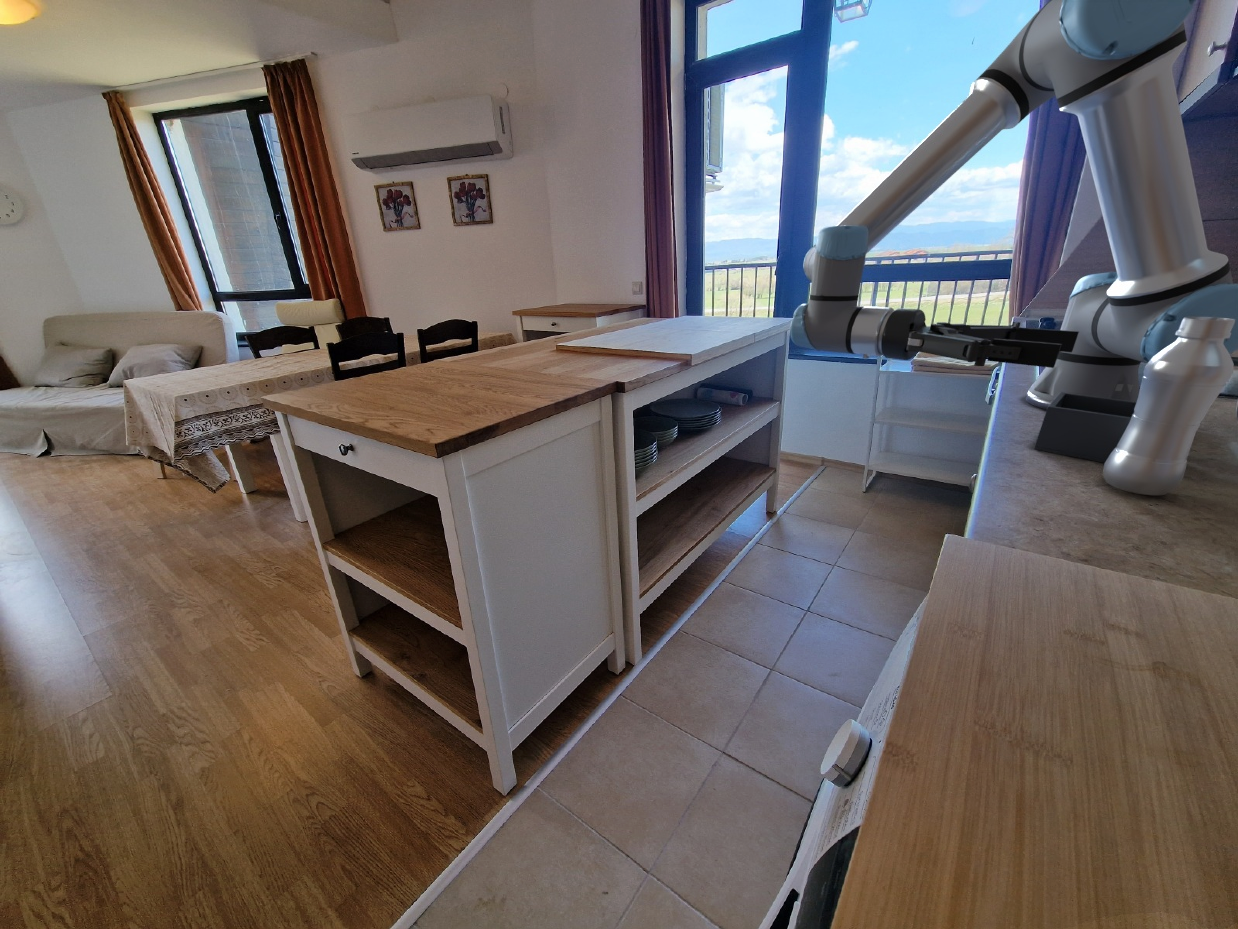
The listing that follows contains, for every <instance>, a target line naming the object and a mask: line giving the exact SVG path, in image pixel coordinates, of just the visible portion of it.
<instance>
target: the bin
mask: <svg viewBox="0 0 1238 929" xmlns="http://www.w3.org/2000/svg"><path fill="white" fill-rule="evenodd" d="M1135 405H1136V402H1135V401H1127V400H1119V399H1111V398H1103V397H1096V396H1088V395H1080V394H1072V393H1064V392H1060V393H1059V395H1058V396H1057V397H1056V398H1055V399H1054V400H1053V401H1052V403H1051V404H1050V405H1049V406H1048V408H1047V409H1046V411H1045V414H1044V417H1043V421H1042V423H1041V425H1040V429H1039V432H1038V435H1037V438H1036V442H1035V444H1034V447H1033V450H1036V451H1037V450H1038V451H1041V452H1042V451H1043V452H1048V453H1053V454H1056V455H1057V454H1058V455H1062V456H1067V457H1073V458H1078V459H1083V460H1089V461H1093V462H1097V463H1103V464H1105V462H1106V460H1107V459H1108V457H1109V455H1110V454H1111V453H1112V451H1113V450H1114V449H1115V447H1117V445H1118V443H1119V441H1120V439H1121V437H1122V435H1123V434H1124V432H1125V430H1126V428H1127V426H1128V424H1129V423H1130V420H1131V417H1132V414H1133V413H1134V408H1135Z"/></svg>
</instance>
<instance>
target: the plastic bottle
mask: <svg viewBox="0 0 1238 929" xmlns="http://www.w3.org/2000/svg"><path fill="white" fill-rule="evenodd" d="M1234 323H1235V319H1230V318H1218V317H1184V319H1183V320H1182V322H1181V325H1180V327H1179V330H1177V331H1176V334H1175V335H1178V336H1179V337H1178V339H1177V340H1176V341H1175V342H1174V343H1172V344H1170V345H1169V346H1167V347H1166V348H1164V349H1163V350H1161V351H1160V352H1159V353H1157V354H1156V355H1155V356H1154V357H1152V358H1151V360H1150V361H1149V362H1148V363H1145V366H1144V369H1143V373H1142V374H1143V375H1142V377H1141V382H1140V385H1139V396H1138V400H1137V402H1136V405H1135V408H1134V413H1133V414H1132V417H1131V420H1130V423H1129V424H1128V426H1127V428H1126V430H1125V432H1124V434H1123V435H1122V437H1121V439H1120V441H1119V443H1118V445H1117V447H1115V449H1114V450H1113V451H1112V453H1111V454H1110V455H1109V457H1108V459H1107V460H1106V462H1105V463H1103V464H1104V465H1103V471H1102V476H1103V478H1104V480H1105V482H1106V483H1107V484H1108V485H1110V486H1112V487H1114V488H1116V489H1119V490H1122V491H1126V492H1128V493H1133V494H1139V495H1146V496H1164V495H1167V494H1169V493H1171V492H1173V491H1174V490H1176V488H1177V487H1178V486H1179V485H1180V483H1181V482H1182V481H1183V479H1184V478H1185V473H1186V469H1187V465H1188V460H1187V459H1188V456H1189V454H1190V451H1191V448H1192V445H1193V442H1194V439H1195V436H1196V433H1197V431H1198V429H1199V428H1200V427H1201V424H1202V423H1201V422H1202V421H1203V420H1204V419H1205V417H1206V415H1207V413H1208V412H1209V410H1210V408H1211V407H1212V405H1213V403H1215V401H1216V400H1217V398H1218V396H1219V395H1220V394H1221V393H1222V391H1223V390H1224V389H1225V387H1226V385H1227V383H1228V382H1229V381H1230V380H1231V378H1232V376H1233V374H1234V366H1235V364H1234V361H1233V358H1232V356H1231V355H1230V354H1229V353H1228V351H1227V349H1226V348H1225V346H1224V344H1223V342H1224V339H1225V338H1230V335H1231V333H1230V332H1231V330H1232V327H1233V325H1234Z"/></svg>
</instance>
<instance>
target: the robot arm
mask: <svg viewBox="0 0 1238 929" xmlns="http://www.w3.org/2000/svg"><path fill="white" fill-rule="evenodd" d="M1196 1H1197V0H1050V1H1048V2H1047V3H1045V4H1044V5H1043V6H1042V7H1041V8H1040V9H1039V10H1038V11H1037V12H1036V13H1035V14H1034V15H1033V16H1032V17H1031V19H1030V20H1029V21H1028V22H1026V24H1025V25H1024V26H1023V27H1022V28H1021V29H1020V31H1019V32H1018V33H1017V34H1016V36H1015V37H1013V39H1012V40H1011V41H1010V43H1008V44H1007V46H1006V47H1005V48H1004V50H1003V51H1002V52H1000V54H999V55H998V56H997V57H996V58H995V59H994V60H993V62H992V63H991V64H989V66H988V67H987V68H986V69H985V70H984V71H983V72H982V73H981V74H980V75H979V76H977V78H976V79H975V80H974V81H973V82H972V84H971V86H970V90H969V95H968V96H967V97H966V98H965V99H964V100H963V101H962V102H961V103H959V105H957V107H955V109H954V110H952V111H951V113H950V114H948V116H946V118H944V120H942V121H941V122H940V123H939V125H937V126H936V128H934V129H933V131H931V132H930V133H929V134H928V135H927V136H926V137H925V138H924V139H923V140H922V141H921V142H920V143H919V144H918V145H917V146H916V147H915V148H914V149H913V150H912V151H911V152H910V153H909V154H907V156H906V157H905V158H904V159H903V160H902V161H901V162H900V163H899V164H898V165H897V166H896V167H895V168H894V169H893V170H892V171H891V172H890V173H888V174H887V176H885V177H884V178H883V179H882V180H881V181H880V182H879V183H878V184H877V186H876V187H874V188H873V189H872V190H871V191H870V192H869V193H868V194H867V195H866V196H865V197H864V198H863V199H862V200H861V201H860V202H859V203H858V204H857V205H856V206H854V208H853V209H852V210H851V211H850V212H848V214H847V215H845V217H844V218H843V219H842V220H840V222H838V224H837V225H830V226H825V227H822V228H821V229H820V230H819V231H818V234H817V240H816V243H815V244H814V245H813V246H812V247H811V248H810V249H809V250H808V251H807V253H806V254H805V257H804V260H803V272H804V274H805V276H806V279H807V280H808V281H809V282H810V283H811V285H810V295H809V299H808V302H807V303H802V304H800V305H798V306H797V308H796V309H795V310H794V312H793V314H792V320H790V325H789V335H790V339H791V341H792V343H793V344H794V345H796V346H798V347H800V348H806V349H811V350H815V351H822V352H833V353H843V354H851V355H862V358H863V359H864V360H868V359H869V358H870V357H878V358H880V357H884V358H886V359H892V360H900V361H909V360H912V359H913V358H914V357H915V356H916V355H917V353H924V354H929V355H934V356H939V357H943V358H949V359H953V360H959V361H963V362H967V363H974V364H973V366H975V367H985V364H986V361H987V362H995V363H1004V364H1005V363H1006V364H1013V365H1022V366H1032V367H1041V368H1044V369H1043V370H1042V372H1041V373H1040V374H1039V376H1038V377H1037V379H1036V380H1034V382H1033V383H1032V385H1031V386H1030V387H1029V389H1028V390H1027V394H1026V397H1025V401H1026V402H1027V403H1028V404H1030V405H1032V406H1034V407H1038V408H1039V409H1040V408H1041V409H1044V410H1047V408H1048V406H1049V405H1050V404H1051V403H1052V401H1053V400H1054V399H1055V398H1056V397H1057V396H1058V395H1059V393H1060V392H1064V393H1072V394H1080V395H1088V396H1096V397H1103V398H1111V399H1119V400H1127V401H1135V402H1137V400H1138V396H1139V391H1140V378H1139V376H1140V375H1139V368H1140V365H1141V363H1145V364H1147V363H1148V362H1149V361H1150V360H1151V358H1152V357H1154V356H1155V355H1156V354H1157V353H1159V352H1160V351H1161V350H1163V349H1164V348H1166V347H1167V346H1169V345H1170V344H1172V343H1174V342H1175V341H1176V340H1177V339H1178V337H1179V336H1178V335H1175V334H1176V331H1177V330H1179V327H1180V325H1181V322H1182V320H1183V319H1184V317H1218V318H1230V319H1235V323H1234V325H1233V327H1232V330H1231V332H1230V333H1231V335H1230V338H1225V339H1224V342H1223V344H1224V346H1225V348H1226V349H1227V351H1228V353H1229V354H1230V356H1231V355H1232V354H1234V353H1235V352H1237V351H1238V282H1237V283H1234V281H1233V277H1232V270H1231V266H1230V260H1229V258H1228V256H1227V255H1226V254H1223V253H1220V252H1216V251H1212V250H1209V248H1208V245H1207V239H1206V234H1205V229H1204V225H1203V219H1202V214H1201V209H1200V205H1199V199H1198V194H1197V188H1196V184H1195V179H1194V174H1193V169H1192V164H1191V158H1190V154H1189V148H1188V143H1187V139H1186V133H1185V128H1184V124H1183V119H1182V113H1181V108H1180V104H1179V98H1178V94H1177V93H1178V92H1177V88H1176V84H1175V78H1174V73H1173V66H1174V64H1175V62H1176V61H1177V60H1178V58H1179V56H1180V54H1181V53H1182V52H1183V50H1184V49H1185V48H1186V46H1187V44H1188V38H1187V33H1186V27H1185V22H1184V21H1185V20H1186V19H1187V17H1189V15H1190V14H1191V12H1192V11H1193V9H1194V6H1195V2H1196ZM1053 98H1056V102H1057V106H1058V110H1059V112H1064V113H1069V114H1074V115H1075V116H1077V119H1078V123H1079V127H1080V130H1081V135H1082V138H1083V142H1084V146H1085V151H1086V155H1087V158H1088V159H1087V160H1088V162H1089V167H1090V170H1091V175H1092V179H1093V182H1094V186H1095V190H1096V191H1095V192H1096V195H1097V198H1098V203H1099V207H1100V210H1101V215H1102V218H1103V223H1104V226H1105V231H1106V234H1107V239H1108V242H1109V247H1110V250H1111V255H1112V258H1113V261H1114V267H1115V270H1116V271H1112V272H1111V271H1110V272H1101V273H1093V274H1087V275H1085V276H1083V277H1081V278H1080V279H1079V280H1078V281H1077V282H1076V283H1075V285H1074V288H1073V290H1072V292H1071V294H1070V295H1069V298H1068V304H1067V307H1066V311H1065V314H1064V317H1063V320H1062V324H1061V325H1060V326H1061V327H1060V329H1050V328H1049V329H1047V328H1036V327H1035V328H1033V327H1020V326H1021V322H1019V321H1012V324H1009V325H996V324H995V325H994V324H993V325H991V324H965V323H950V322H946V321H938V322H936V323H931V324H930V326H929V325H928V326H927V324H926V314H925V312H924V311H923V310H922V309H918V308H901V307H900V308H899V307H898V308H895V309H894V308H893V307H889V306H888V307H887V306H871V305H870V306H868V305H867V306H860V305H858V301H859V297H860V290H861V283H862V279H863V272H864V267H865V261H866V256H867V254H869V252H871V250H873V248H875V247H876V246H877V245H879V243H880V242H882V241H883V239H884V238H886V237H887V236H888V235H889V234H890V233H891V232H892V231H894V229H896V228H897V227H898V226H899V225H900V224H901V223H902V222H903V221H905V219H906V218H908V217H909V216H910V215H911V214H912V213H913V212H915V211H916V209H918V207H920V205H922V204H923V203H924V202H925V201H926V200H927V199H928V198H929V197H931V196H932V195H933V194H934V193H935V192H936V191H937V190H938V189H939V188H940V187H941V186H942V185H944V184H945V183H946V182H947V181H948V180H949V179H950V178H951V177H952V176H953V175H955V174H956V173H957V172H958V171H959V170H960V169H961V168H962V167H963V166H965V165H966V164H967V163H968V162H969V161H970V160H971V159H972V158H974V156H976V155H977V154H978V153H979V152H980V151H981V150H982V149H983V148H984V147H985V146H986V145H987V144H989V143H990V142H991V141H992V140H993V139H994V138H995V137H996V136H997V135H998V134H999V133H1001V131H1003V130H1011V129H1014V128H1015V127H1016V126H1018V125H1019V124H1020V123H1021V122H1022V121H1023V120H1024V119H1025V118H1027V117H1028V116H1029V115H1030V114H1031V113H1033V112H1034V111H1036V110H1037V109H1038V108H1039V107H1040V106H1042V105H1043V104H1045V103H1046V102H1048V101H1050V100H1052V99H1053Z"/></svg>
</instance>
